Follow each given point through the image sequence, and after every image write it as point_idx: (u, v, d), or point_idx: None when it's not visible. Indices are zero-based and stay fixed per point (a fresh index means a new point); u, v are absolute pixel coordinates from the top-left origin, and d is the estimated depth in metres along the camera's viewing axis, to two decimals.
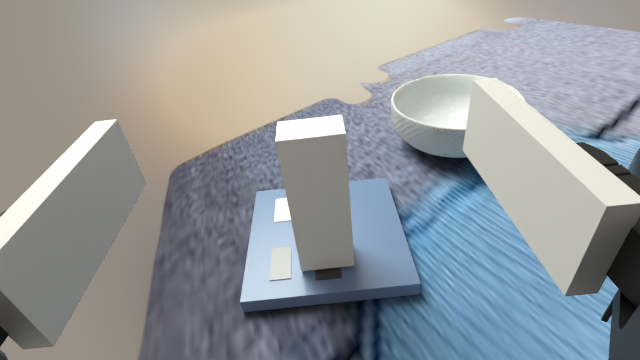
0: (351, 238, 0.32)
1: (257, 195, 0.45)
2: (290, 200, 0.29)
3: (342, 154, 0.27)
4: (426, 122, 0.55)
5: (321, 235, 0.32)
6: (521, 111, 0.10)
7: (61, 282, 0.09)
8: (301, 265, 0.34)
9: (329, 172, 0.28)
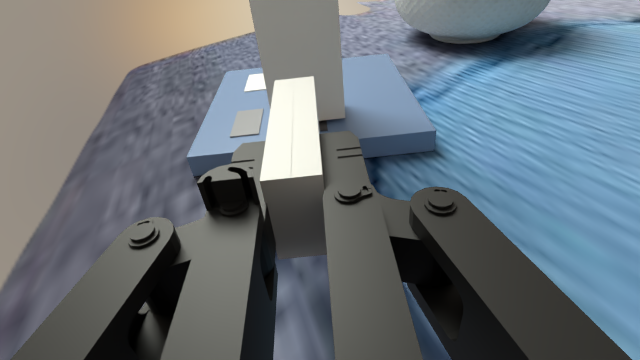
0: (340, 66, 0.23)
1: (227, 74, 0.36)
2: None
3: None
4: None
5: (298, 59, 0.23)
6: (304, 104, 0.12)
7: None
8: None
9: None
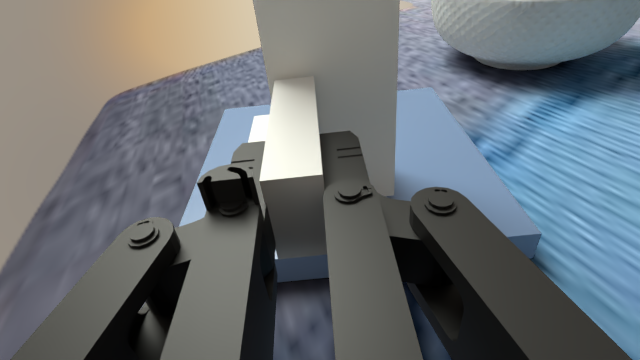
0: (393, 129, 0.16)
1: (225, 113, 0.28)
2: (263, 19, 0.13)
3: None
4: None
5: (331, 121, 0.15)
6: (304, 104, 0.12)
7: None
8: None
9: None
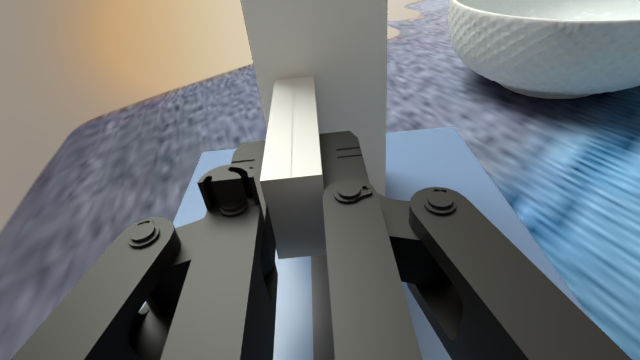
0: (383, 131, 0.16)
1: (202, 158, 0.23)
2: (251, 21, 0.13)
3: None
4: None
5: (321, 123, 0.15)
6: (304, 104, 0.12)
7: None
8: None
9: None
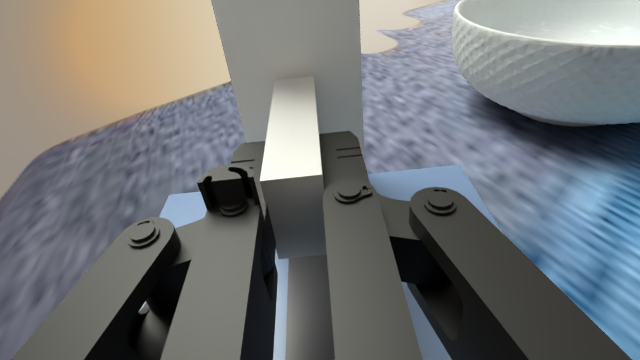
0: (360, 136, 0.16)
1: (168, 203, 0.20)
2: (224, 28, 0.13)
3: None
4: None
5: None
6: (304, 104, 0.12)
7: None
8: None
9: None
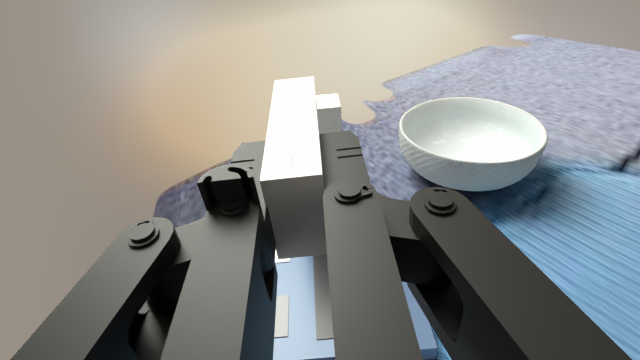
0: None
1: None
2: None
3: (337, 125, 0.32)
4: (435, 148, 0.52)
5: None
6: (304, 104, 0.12)
7: None
8: None
9: None
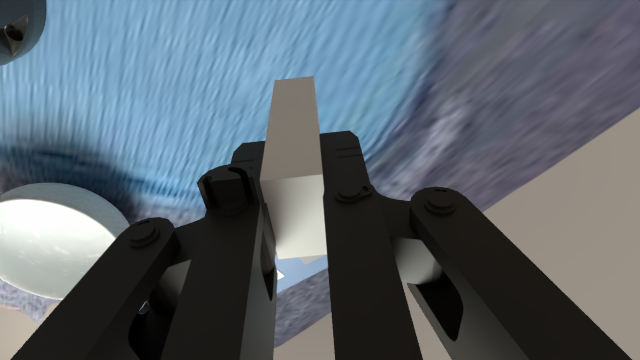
0: None
1: None
2: None
3: None
4: (73, 248, 0.50)
5: None
6: (304, 104, 0.12)
7: None
8: None
9: None
